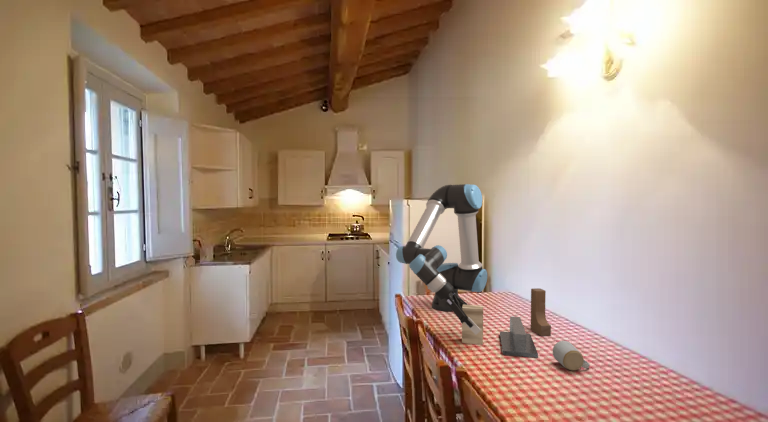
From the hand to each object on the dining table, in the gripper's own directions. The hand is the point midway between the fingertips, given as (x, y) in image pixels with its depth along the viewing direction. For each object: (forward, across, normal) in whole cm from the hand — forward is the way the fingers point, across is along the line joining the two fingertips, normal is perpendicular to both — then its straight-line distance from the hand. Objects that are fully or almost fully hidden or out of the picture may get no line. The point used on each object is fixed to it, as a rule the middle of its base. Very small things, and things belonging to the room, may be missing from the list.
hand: (478, 326), depth 156 cm
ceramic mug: (+26, +16, +17) cm, 35 cm away
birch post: (+3, 0, -6) cm, 7 cm away
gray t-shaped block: (+15, 0, +6) cm, 16 cm away
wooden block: (+23, -18, +14) cm, 32 cm away
